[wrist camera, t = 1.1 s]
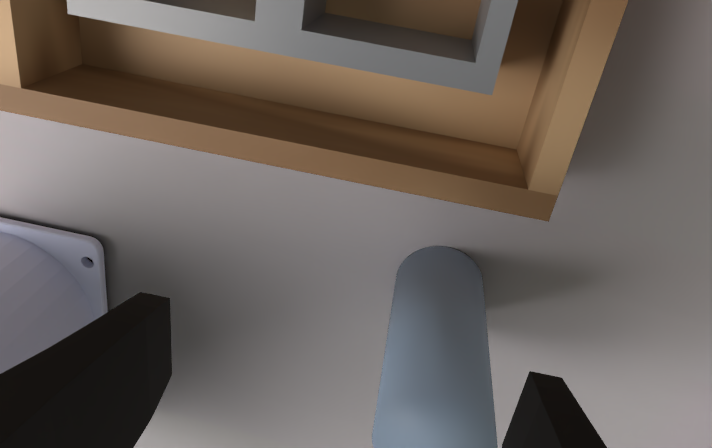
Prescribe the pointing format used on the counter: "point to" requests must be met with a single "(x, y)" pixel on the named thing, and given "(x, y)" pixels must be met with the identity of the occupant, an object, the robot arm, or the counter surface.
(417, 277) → the dowel
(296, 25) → the plate
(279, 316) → the counter surface
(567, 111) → the tray box
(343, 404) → the counter surface
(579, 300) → the counter surface
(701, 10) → the counter surface
